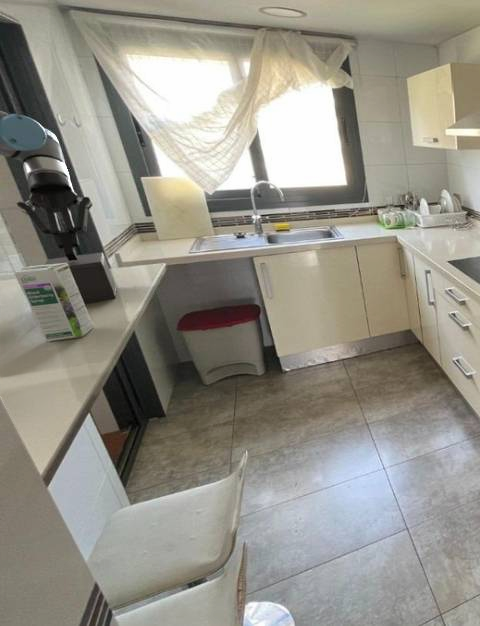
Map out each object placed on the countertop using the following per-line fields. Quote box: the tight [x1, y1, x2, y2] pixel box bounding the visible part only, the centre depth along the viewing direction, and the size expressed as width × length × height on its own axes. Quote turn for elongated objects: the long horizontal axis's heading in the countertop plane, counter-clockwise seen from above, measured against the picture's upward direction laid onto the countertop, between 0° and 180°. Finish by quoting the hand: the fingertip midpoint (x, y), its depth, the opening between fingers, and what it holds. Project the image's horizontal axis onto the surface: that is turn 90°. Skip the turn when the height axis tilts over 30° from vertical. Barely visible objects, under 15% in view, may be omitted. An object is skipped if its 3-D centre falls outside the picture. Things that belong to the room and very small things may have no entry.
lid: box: [44, 251, 105, 270], centre depth 112 cm, size 12×10×1 cm
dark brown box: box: [70, 255, 117, 304], centre depth 114 cm, size 12×10×9 cm
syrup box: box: [14, 263, 94, 343], centre depth 91 cm, size 6×6×14 cm
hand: (71, 257), depth 110 cm, fingers closed
